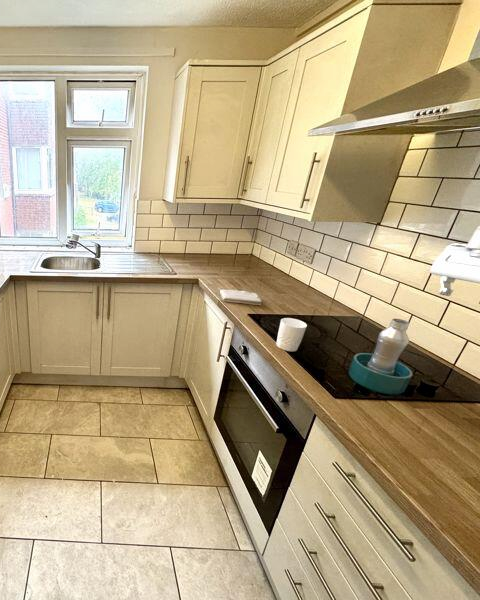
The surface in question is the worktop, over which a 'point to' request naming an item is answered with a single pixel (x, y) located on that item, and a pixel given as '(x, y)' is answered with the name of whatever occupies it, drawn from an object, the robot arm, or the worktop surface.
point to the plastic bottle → (389, 347)
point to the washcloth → (240, 297)
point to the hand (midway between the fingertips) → (463, 300)
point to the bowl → (379, 376)
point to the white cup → (290, 334)
